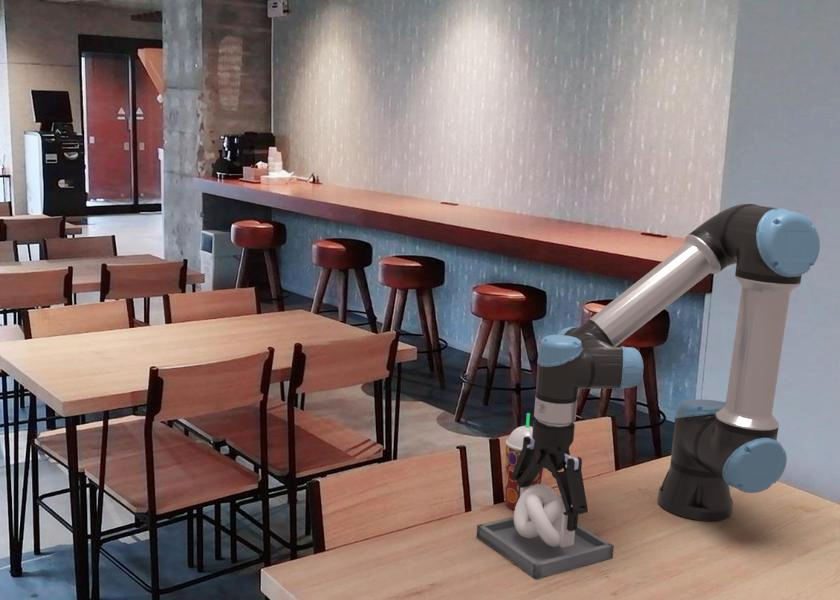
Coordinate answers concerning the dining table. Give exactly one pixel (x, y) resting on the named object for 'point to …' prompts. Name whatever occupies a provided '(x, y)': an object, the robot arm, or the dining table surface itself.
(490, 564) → the dining table surface
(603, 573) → the dining table surface
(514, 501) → the smoothie
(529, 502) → the white trefoil knot
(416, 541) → the dining table surface
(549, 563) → the tray
